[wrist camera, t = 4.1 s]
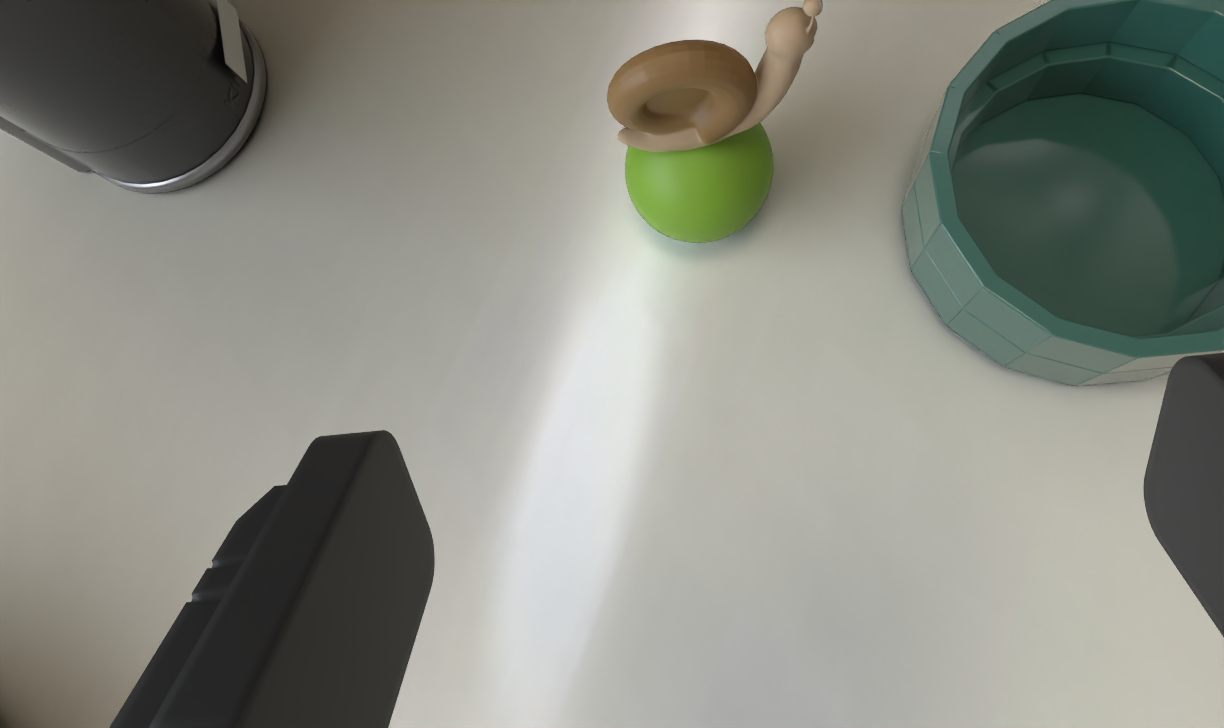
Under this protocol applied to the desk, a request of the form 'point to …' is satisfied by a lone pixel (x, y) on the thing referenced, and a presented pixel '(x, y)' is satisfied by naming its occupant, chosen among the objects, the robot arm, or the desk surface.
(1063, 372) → the bowl
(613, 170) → the desk surface
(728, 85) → the snail figurine
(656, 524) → the desk surface
